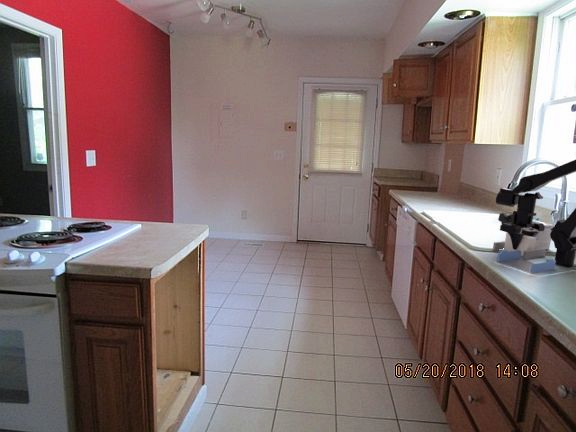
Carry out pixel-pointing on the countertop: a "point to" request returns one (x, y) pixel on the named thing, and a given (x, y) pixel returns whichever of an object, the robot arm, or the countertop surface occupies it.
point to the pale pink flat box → (524, 245)
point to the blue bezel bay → (524, 262)
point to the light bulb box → (543, 236)
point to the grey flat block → (527, 254)
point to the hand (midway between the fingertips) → (518, 248)
